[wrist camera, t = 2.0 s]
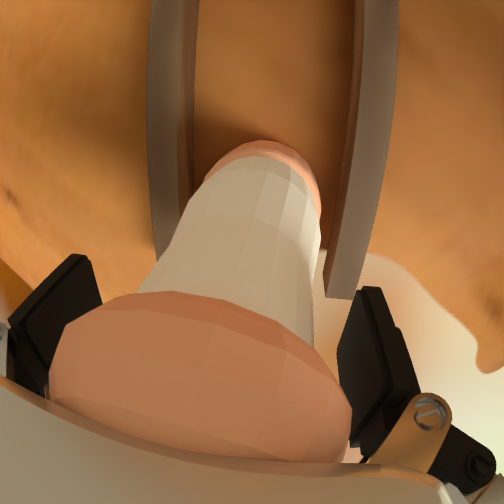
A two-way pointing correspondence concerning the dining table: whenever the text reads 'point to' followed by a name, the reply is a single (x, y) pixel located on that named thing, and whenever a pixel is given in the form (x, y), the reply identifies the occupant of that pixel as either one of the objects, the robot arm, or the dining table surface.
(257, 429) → the pepper shaker
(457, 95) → the dining table surface
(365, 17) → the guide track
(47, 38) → the dining table surface
